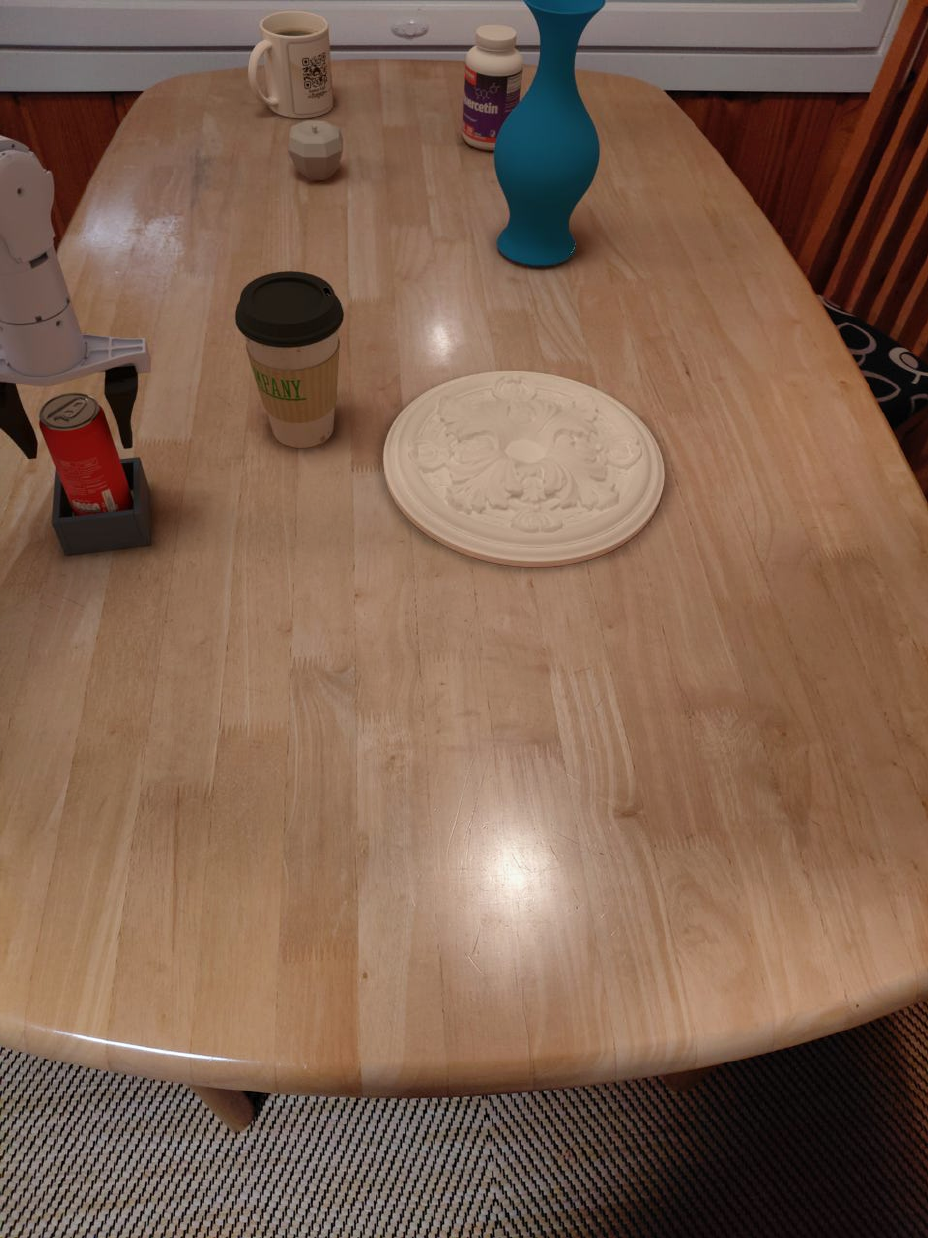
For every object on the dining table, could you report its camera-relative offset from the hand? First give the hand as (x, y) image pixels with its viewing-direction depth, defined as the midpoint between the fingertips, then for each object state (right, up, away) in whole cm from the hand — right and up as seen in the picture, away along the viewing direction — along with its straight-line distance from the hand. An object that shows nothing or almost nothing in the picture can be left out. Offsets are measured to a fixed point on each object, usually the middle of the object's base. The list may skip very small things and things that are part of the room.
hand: (81, 446), depth 78 cm
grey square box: (-1, -6, +8) cm, 9 cm away
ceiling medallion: (+38, +1, +15) cm, 41 cm away
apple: (+12, +47, +50) cm, 70 cm away
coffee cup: (+16, +5, +17) cm, 24 cm away
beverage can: (0, -5, +7) cm, 9 cm away
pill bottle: (+36, +56, +59) cm, 89 cm away
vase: (+41, +33, +41) cm, 67 cm away
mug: (+6, +63, +63) cm, 90 cm away
